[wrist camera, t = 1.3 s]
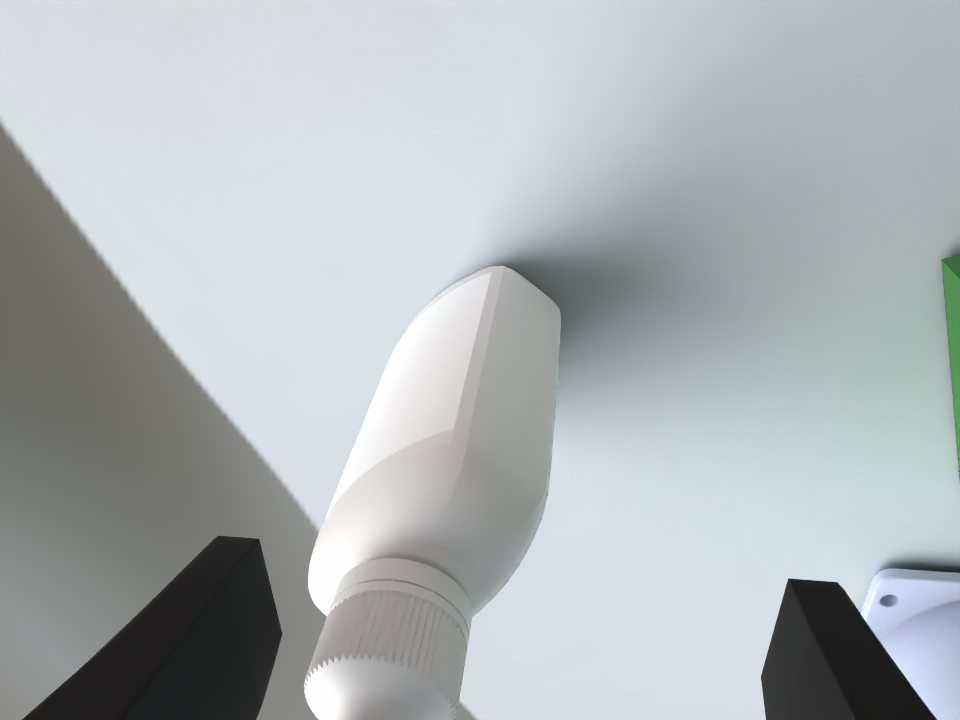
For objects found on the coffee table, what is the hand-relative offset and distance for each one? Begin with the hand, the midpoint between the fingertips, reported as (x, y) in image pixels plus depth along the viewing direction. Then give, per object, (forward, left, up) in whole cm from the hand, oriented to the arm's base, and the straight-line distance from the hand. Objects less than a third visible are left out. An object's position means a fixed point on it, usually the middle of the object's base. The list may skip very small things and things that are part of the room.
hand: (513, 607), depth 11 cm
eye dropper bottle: (-2, +2, -10) cm, 11 cm away
